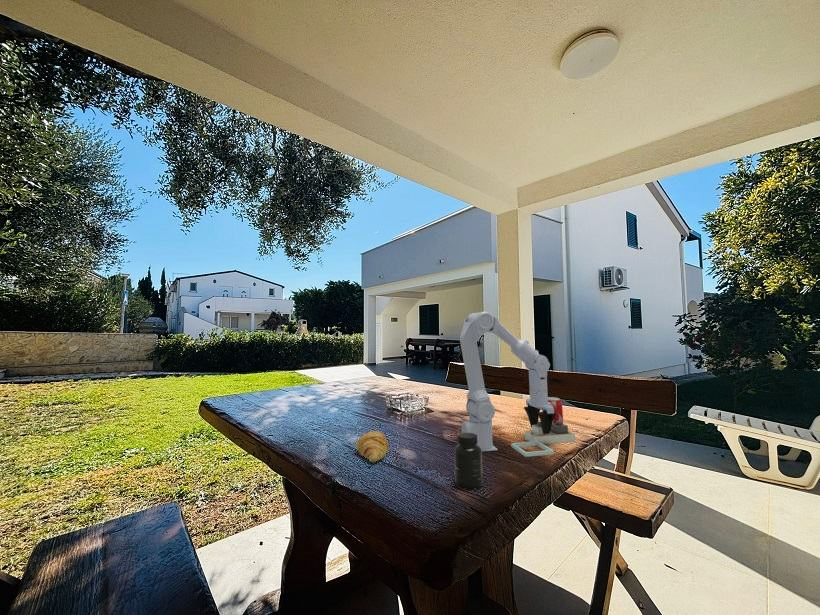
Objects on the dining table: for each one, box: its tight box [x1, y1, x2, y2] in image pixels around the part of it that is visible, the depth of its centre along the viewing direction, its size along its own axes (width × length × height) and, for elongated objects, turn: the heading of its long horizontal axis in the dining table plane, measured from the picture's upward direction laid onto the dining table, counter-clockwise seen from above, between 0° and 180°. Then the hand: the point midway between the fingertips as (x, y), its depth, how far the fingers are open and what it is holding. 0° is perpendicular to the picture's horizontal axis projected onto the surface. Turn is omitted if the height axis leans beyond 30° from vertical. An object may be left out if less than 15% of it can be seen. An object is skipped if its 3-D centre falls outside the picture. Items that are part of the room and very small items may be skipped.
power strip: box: [523, 430, 576, 445], centre depth 121 cm, size 14×7×3 cm, turn 100°
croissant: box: [355, 429, 390, 463], centre depth 114 cm, size 21×10×8 cm, turn 9°
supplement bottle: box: [453, 432, 484, 490], centre depth 89 cm, size 7×7×12 cm
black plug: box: [551, 420, 569, 434], centre depth 122 cm, size 4×4×6 cm
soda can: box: [541, 396, 564, 424], centre depth 134 cm, size 7×7×12 cm
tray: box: [510, 441, 555, 457], centre depth 111 cm, size 9×9×2 cm
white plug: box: [531, 421, 549, 436], centre depth 121 cm, size 4×4×6 cm
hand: (540, 430), depth 121 cm, fingers open, 7 cm apart
